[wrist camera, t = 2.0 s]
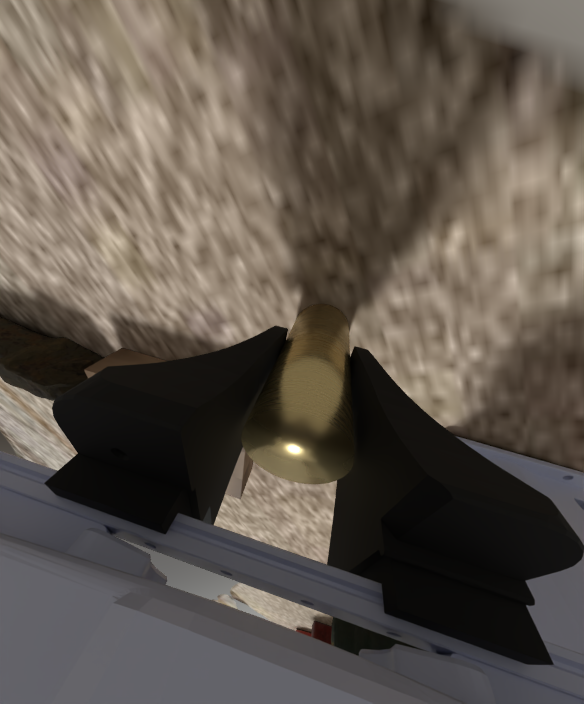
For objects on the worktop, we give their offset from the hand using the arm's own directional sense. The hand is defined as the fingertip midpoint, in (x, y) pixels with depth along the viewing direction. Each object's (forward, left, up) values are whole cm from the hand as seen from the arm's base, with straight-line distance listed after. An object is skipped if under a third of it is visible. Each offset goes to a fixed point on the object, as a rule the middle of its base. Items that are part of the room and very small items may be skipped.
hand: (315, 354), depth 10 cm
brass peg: (0, 0, -3) cm, 3 cm away
